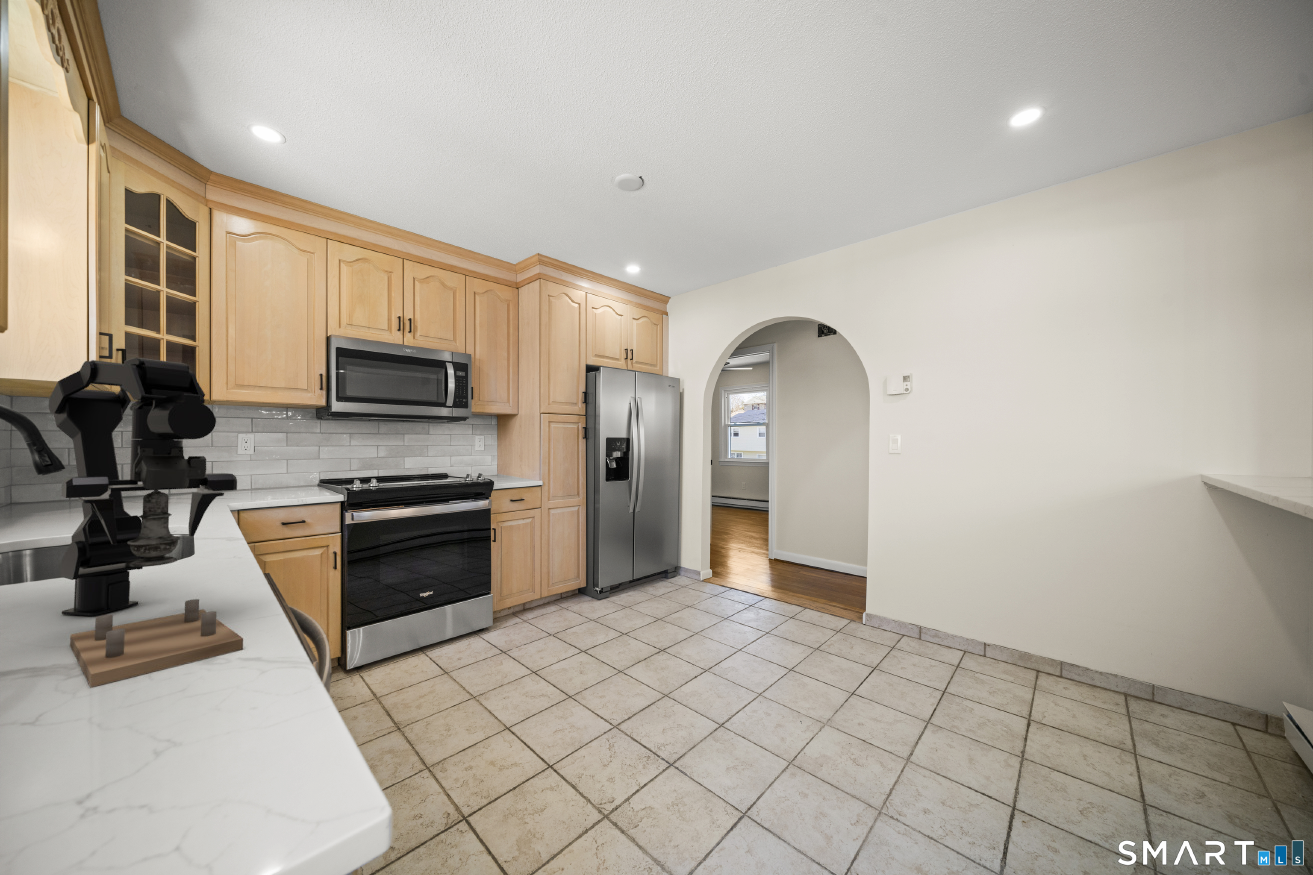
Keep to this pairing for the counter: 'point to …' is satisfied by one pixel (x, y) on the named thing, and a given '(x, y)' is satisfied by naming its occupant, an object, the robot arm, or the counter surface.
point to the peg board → (151, 644)
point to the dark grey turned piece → (154, 533)
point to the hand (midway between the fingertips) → (154, 539)
